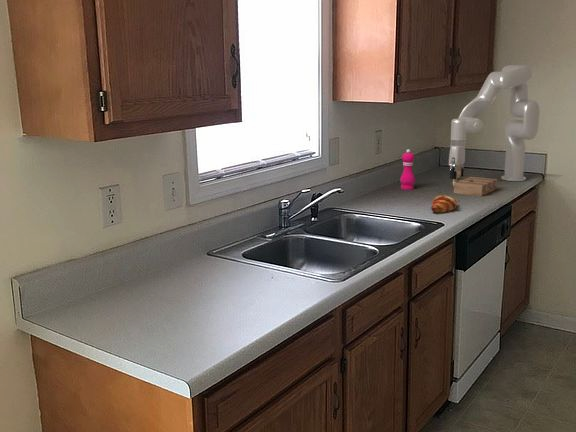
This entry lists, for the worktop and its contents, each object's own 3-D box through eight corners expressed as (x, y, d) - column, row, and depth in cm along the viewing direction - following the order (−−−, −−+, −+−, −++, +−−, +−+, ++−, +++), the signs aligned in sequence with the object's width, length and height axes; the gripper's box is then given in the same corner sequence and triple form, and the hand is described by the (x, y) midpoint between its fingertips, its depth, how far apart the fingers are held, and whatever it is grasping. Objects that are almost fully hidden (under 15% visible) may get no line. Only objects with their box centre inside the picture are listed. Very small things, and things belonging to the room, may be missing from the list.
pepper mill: (415, 189, 325) (416, 150, 320) (401, 190, 325) (402, 150, 320) (413, 187, 332) (414, 148, 327) (399, 187, 332) (399, 148, 327)
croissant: (448, 211, 293) (441, 195, 294) (467, 204, 287) (460, 187, 287) (427, 220, 277) (420, 203, 278) (447, 212, 270) (439, 194, 271)
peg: (454, 185, 335) (455, 162, 332) (461, 185, 332) (462, 162, 329) (450, 186, 332) (451, 163, 329) (458, 187, 329) (459, 163, 326)
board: (469, 186, 331) (470, 176, 330) (496, 189, 322) (497, 179, 321) (453, 193, 315) (454, 183, 314) (481, 196, 307) (482, 185, 306)
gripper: (458, 141, 336) (456, 174, 340) (443, 144, 322) (442, 179, 326) (472, 141, 331) (470, 175, 335) (458, 145, 318) (456, 181, 322)
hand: (456, 177), depth 331 cm, fingers open, 7 cm apart
